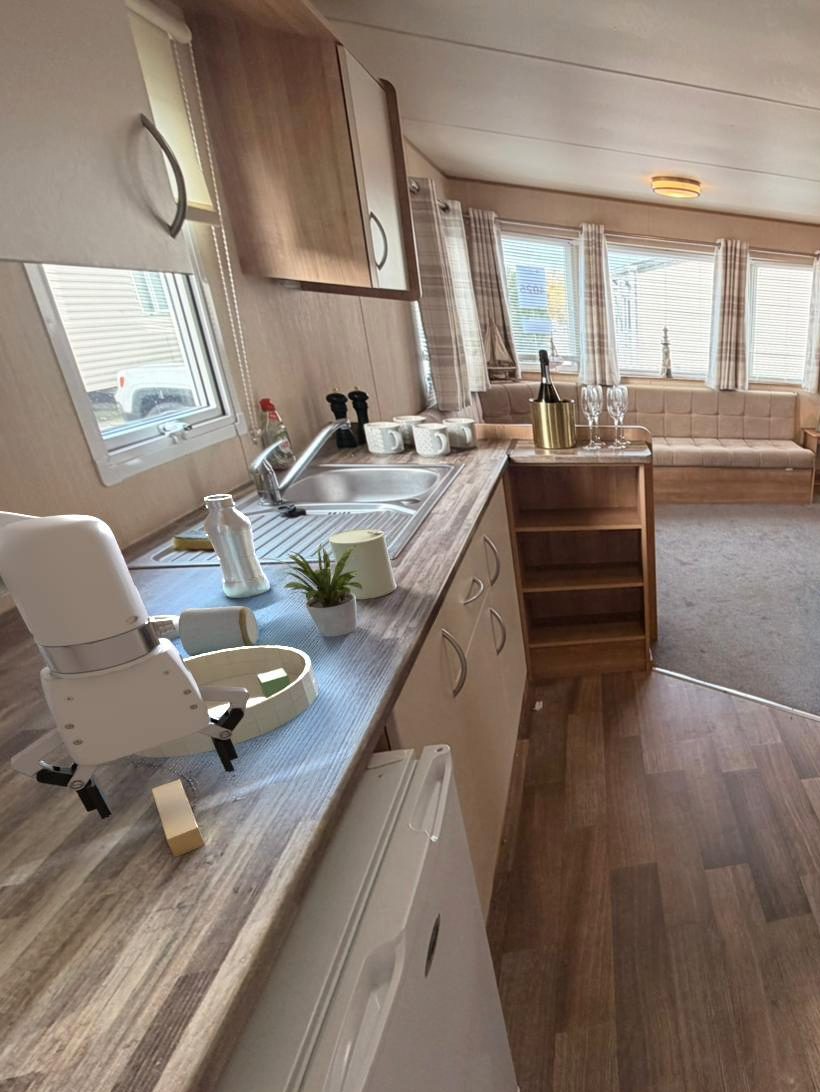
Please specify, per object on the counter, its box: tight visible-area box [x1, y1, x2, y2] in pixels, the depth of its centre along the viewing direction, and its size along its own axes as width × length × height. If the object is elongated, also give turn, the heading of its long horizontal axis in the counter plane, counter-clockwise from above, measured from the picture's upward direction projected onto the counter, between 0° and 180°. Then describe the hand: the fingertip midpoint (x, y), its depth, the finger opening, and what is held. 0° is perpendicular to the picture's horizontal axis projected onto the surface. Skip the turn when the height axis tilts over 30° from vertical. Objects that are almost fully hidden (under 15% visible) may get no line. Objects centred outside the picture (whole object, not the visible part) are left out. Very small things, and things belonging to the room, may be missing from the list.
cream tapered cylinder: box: [328, 528, 398, 600], centre depth 125 cm, size 9×9×12 cm
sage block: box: [257, 668, 290, 698], centre depth 92 cm, size 3×3×3 cm
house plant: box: [261, 542, 362, 638], centre depth 107 cm, size 14×14×16 cm
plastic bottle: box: [203, 494, 271, 599], centre depth 117 cm, size 6×7×20 cm
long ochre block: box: [151, 778, 206, 858], centre depth 69 cm, size 11×2×2 cm, turn 49°
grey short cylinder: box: [179, 605, 259, 657], centre depth 104 cm, size 11×8×8 cm
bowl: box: [133, 645, 320, 759], centre depth 87 cm, size 21×21×5 cm
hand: (170, 787), depth 68 cm, fingers open, 9 cm apart
